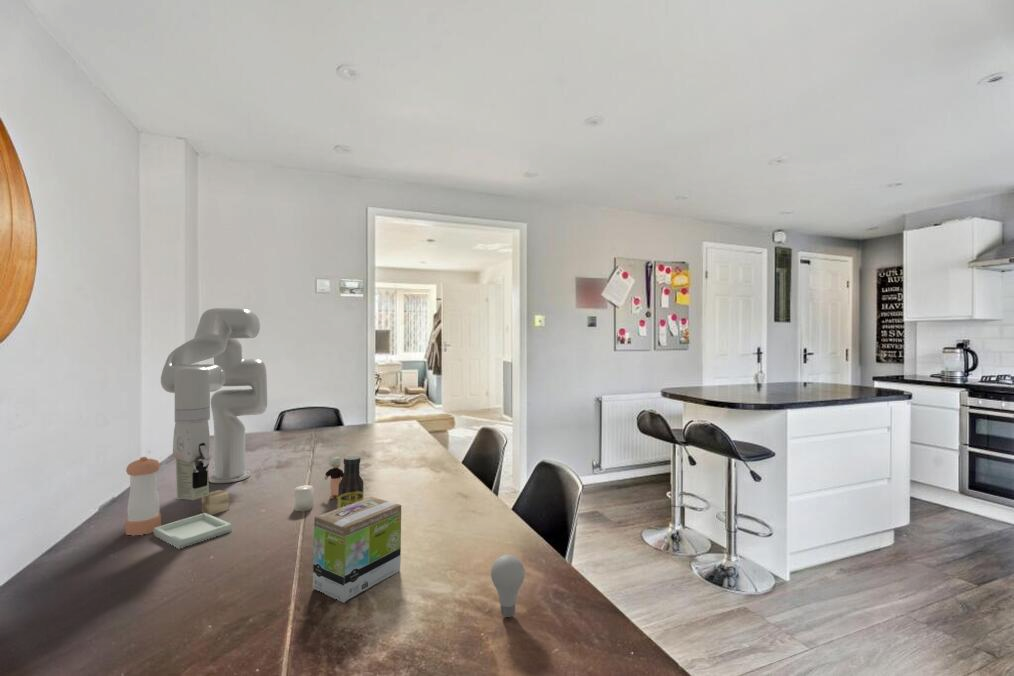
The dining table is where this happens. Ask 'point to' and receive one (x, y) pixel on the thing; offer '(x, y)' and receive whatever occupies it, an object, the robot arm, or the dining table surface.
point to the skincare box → (188, 481)
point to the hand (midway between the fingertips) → (192, 484)
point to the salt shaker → (143, 497)
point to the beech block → (215, 502)
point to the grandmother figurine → (334, 476)
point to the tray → (192, 530)
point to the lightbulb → (507, 581)
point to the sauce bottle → (350, 483)
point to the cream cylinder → (303, 498)
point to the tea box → (356, 547)
